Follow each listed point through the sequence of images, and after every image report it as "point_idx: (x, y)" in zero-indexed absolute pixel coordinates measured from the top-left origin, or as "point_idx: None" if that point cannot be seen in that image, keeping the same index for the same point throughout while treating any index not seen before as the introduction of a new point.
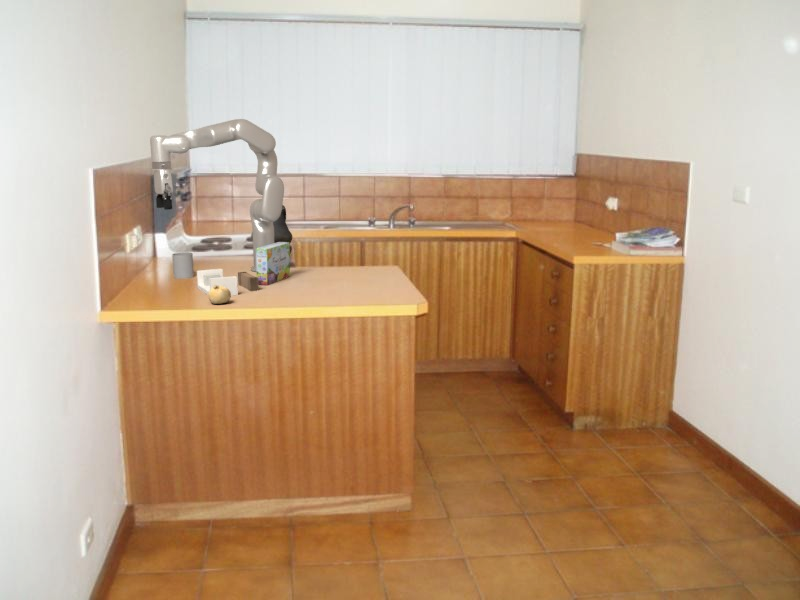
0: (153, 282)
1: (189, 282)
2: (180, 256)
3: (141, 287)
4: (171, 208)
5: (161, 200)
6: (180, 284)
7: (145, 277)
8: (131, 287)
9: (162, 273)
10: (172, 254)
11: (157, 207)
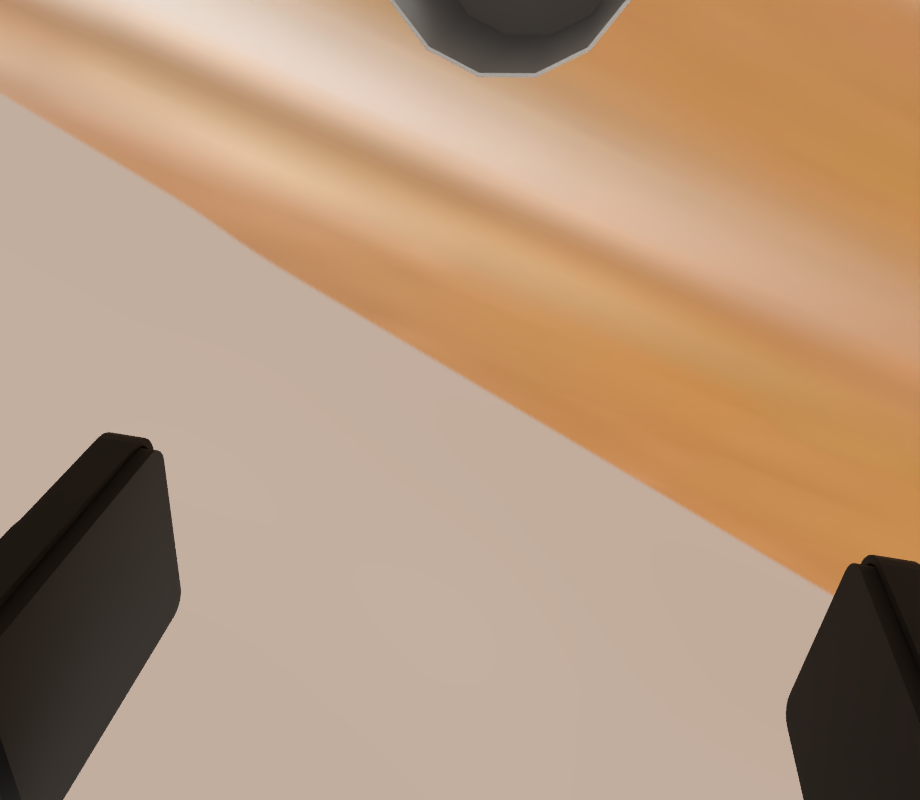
0: (589, 273)
1: (855, 24)
2: (614, 18)
3: (717, 420)
4: (910, 586)
5: (54, 671)
6: (870, 143)
7: (322, 223)
8: (659, 463)
9: (202, 14)
10: (461, 65)
11: (167, 600)
